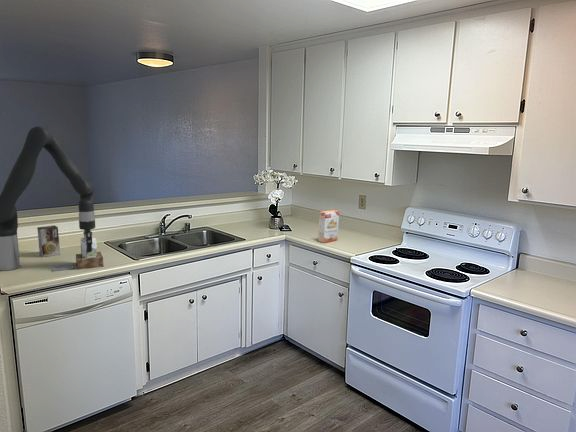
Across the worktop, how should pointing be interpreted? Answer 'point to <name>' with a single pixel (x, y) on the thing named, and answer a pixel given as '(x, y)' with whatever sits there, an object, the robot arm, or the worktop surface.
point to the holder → (89, 261)
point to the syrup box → (84, 249)
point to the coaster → (62, 267)
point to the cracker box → (328, 226)
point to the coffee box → (48, 241)
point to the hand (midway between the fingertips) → (88, 249)
